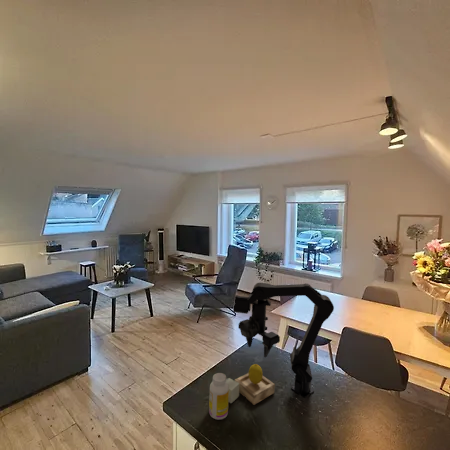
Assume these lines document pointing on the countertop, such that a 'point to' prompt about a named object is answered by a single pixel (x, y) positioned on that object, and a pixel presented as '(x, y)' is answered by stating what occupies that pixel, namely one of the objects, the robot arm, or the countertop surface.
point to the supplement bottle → (218, 397)
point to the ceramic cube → (232, 390)
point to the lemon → (255, 374)
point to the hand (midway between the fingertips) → (257, 351)
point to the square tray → (255, 388)
